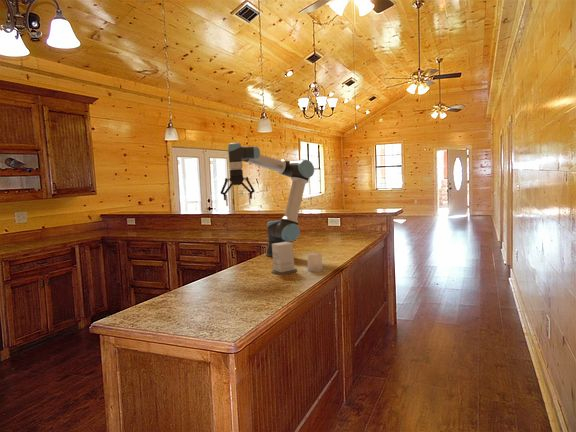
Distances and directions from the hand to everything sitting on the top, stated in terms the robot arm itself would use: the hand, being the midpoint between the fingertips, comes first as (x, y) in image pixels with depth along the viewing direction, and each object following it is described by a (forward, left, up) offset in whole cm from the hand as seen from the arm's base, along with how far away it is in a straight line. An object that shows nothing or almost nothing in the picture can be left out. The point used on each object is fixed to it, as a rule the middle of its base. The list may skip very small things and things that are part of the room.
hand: (238, 205), depth 255 cm
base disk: (+24, +24, -37) cm, 50 cm away
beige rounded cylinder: (+27, +41, -37) cm, 61 cm away
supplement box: (+24, +24, -36) cm, 50 cm away
